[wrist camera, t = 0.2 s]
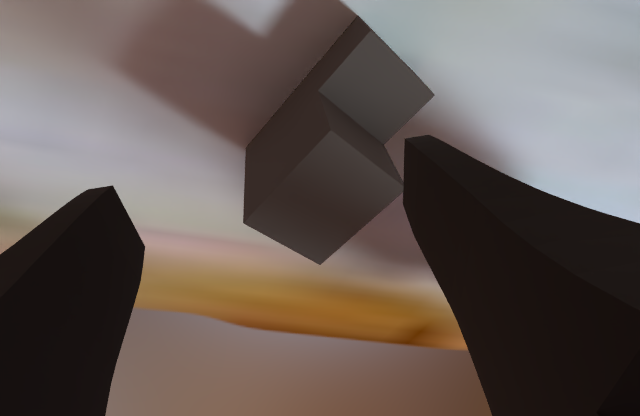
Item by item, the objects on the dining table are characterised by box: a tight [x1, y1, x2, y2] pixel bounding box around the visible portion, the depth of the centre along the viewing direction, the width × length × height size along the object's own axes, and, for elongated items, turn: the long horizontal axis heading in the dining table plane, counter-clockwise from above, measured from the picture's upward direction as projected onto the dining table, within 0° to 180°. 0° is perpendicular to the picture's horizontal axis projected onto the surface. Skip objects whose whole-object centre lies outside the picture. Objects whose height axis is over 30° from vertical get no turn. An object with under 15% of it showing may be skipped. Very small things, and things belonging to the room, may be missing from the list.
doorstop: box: [243, 16, 434, 265], centre depth 17 cm, size 8×4×6 cm, turn 138°
